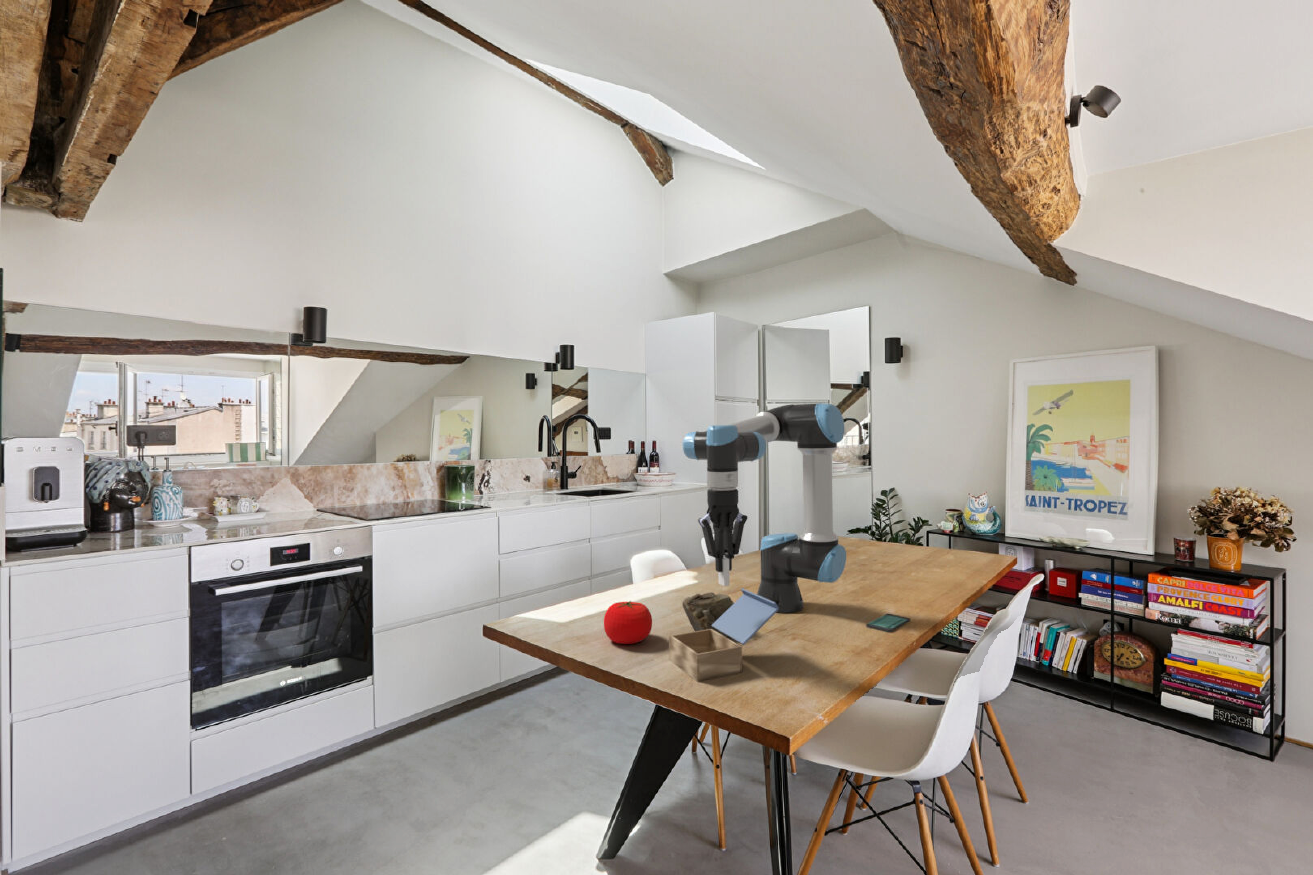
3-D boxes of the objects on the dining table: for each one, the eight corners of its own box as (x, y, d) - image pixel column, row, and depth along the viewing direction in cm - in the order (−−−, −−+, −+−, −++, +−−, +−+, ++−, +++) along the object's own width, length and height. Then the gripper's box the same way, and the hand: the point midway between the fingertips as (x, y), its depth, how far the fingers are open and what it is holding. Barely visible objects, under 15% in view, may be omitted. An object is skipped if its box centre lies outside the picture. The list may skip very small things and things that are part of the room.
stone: (690, 600, 159) (727, 574, 168) (673, 605, 165) (709, 580, 175) (720, 655, 157) (755, 626, 166) (701, 658, 164) (736, 629, 173)
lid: (741, 587, 157) (745, 594, 158) (708, 620, 153) (712, 626, 153) (775, 602, 144) (779, 608, 145) (739, 638, 140) (743, 645, 140)
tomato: (597, 634, 166) (597, 597, 166) (641, 629, 171) (641, 592, 170) (612, 652, 153) (612, 612, 153) (659, 646, 157) (659, 606, 157)
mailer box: (669, 659, 148) (669, 635, 148) (711, 651, 153) (711, 628, 153) (697, 681, 135) (697, 654, 135) (741, 672, 140) (741, 646, 140)
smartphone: (911, 617, 178) (890, 629, 168) (911, 621, 178) (890, 633, 168) (886, 612, 184) (864, 623, 173) (886, 616, 184) (864, 627, 173)
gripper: (707, 491, 140) (708, 592, 140) (753, 488, 145) (754, 584, 146) (691, 488, 146) (693, 584, 147) (736, 485, 152) (737, 577, 153)
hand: (723, 584), depth 147 cm, fingers closed
